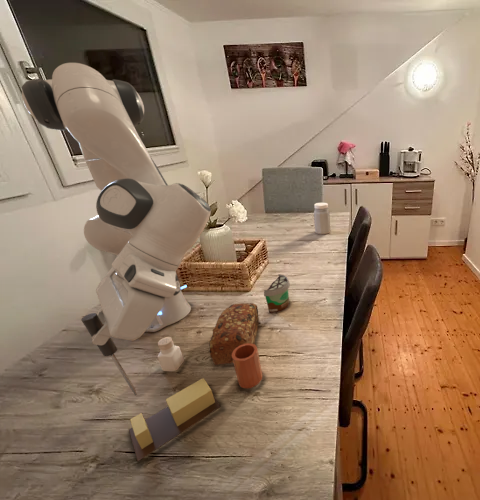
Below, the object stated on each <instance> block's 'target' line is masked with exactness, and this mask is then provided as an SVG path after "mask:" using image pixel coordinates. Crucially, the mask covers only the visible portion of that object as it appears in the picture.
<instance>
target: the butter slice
mask: <svg viewBox="0 0 480 500" xmlns="http://www.w3.org/2000/svg"><path fill="white" fill-rule="evenodd" d="M145 420H146V418H144V415H143V413H142V412H140V413H139V414H137V415H135V416H134V417H132V418H130V419H129V421H130V424H131V428H133V431H134V434H135V437H136V439H137V441H138V443H139V445H140V447H141V449H143V448H145V447H146V446H148V445H149V444H151V443H152V442H153V439H152V437H151V434H150V431H149V429H148V426H147V424H146V422H145Z"/></svg>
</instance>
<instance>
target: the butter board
mask: <svg viewBox="0 0 480 500" xmlns="http://www.w3.org/2000/svg"><path fill="white" fill-rule="evenodd" d="M213 397H214V400H215V403H213V404H212V405H210V406H209V407H207V408H206V409H204V410H203V411H201V412H199V413H198V414H196V415H195V416H193V417H192V418H190V419H188V420H187V421H185V422H184V423H182V424H181V425H179V426H177V425H176V423H175V420H174V418H173V416H172V414H171V412H170V409H169V407H168V406H166V407H165V408H163V409H161V410H159V411H158V412H156V413H154V414H152V415H151V416H149V417H147V418H145V422H146V424H147V426H148V429H149V431H150V434H151V437H152V439H153V442H152V443H151V444H149V445H148V446H146V447H145V448H143V449H141V447H140V445H139V443H138V441H137V439H136V437H135V434H134V431H133V428H132V427H131V428H129V429H128V434H129V436H130V440H131V443H132V447H133V450H134V453H135V457H136V461H137V462H139V461H141V460H142V459H144V458H146V457H147V456H149V455H151V453H154V452H155V451H156V450H158V449H159V448H161V447H162V446H164V445H165V444H166V443H168V442H170V441H171V440H173V439H175V438H176V437H177V436H179V435H180V434H182V433H184V432H185V431H186V430H189V428H191V427H192V426H194V425H195V424H197V423H198V422H200V421H202V420H203V419H204V418H206V417H208V416H209V415H210V414H212V413H214V412H215V411H216V410H218V409H220V408H221V407H222V405H221V404H220V403H219V401H218V400H217V399H216V397H215V395H214V394H213Z"/></svg>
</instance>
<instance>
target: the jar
mask: <svg viewBox="0 0 480 500" xmlns="http://www.w3.org/2000/svg"><path fill="white" fill-rule="evenodd" d="M313 206H314V207H313V208H314V211H313V221H314V222H313V223H314V233H316V234H317V235H328V234H329V233H330V232H331V215H330V210H329V203H328V202H315V203H314V204H313Z"/></svg>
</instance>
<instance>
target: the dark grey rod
mask: <svg viewBox="0 0 480 500" xmlns="http://www.w3.org/2000/svg"><path fill="white" fill-rule="evenodd" d="M80 321H81V323H82V324H83V326H84V327H85V329H86V330H87V332H88V333H89V335H90V337H92V336H93V335H94V334H95V332H96V331H97V330H100V329H101V328H102V327H103V324H102V322H101V320H100V319H99V317H98V315H97V313H96V312H92V313H91V312H90V313H88V314H85V316H83V317H82V318H81V319H80ZM96 346H97V347H98V349H99V351H100V352H101V354H102V356H103V357H111V359H112V361H113V362H114V364H115V365H116V367H117V369H118V370H119V372H120V374H121V375H122V377H123V378H124V380H125V382H126V383H127V385H128V387H129V388H130V390H131V392H132V393H133V395H134V396H137V395H138V393H137V391H136V389H135V386H134V385H133V383H132V381H131V379H130V378H129V376H128V374H127V373H126V371H125V370H124V368H123V367H122V365H121V363H120V361H119V360H118V358H117V357H116V355H115V353H116V352H117V351H118V347H117V346H116V344H115V342H114V340H113V339H112V336H111V337H110V338H109V339H108V341H107V342H106V343H105V344H104V345H96Z"/></svg>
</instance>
